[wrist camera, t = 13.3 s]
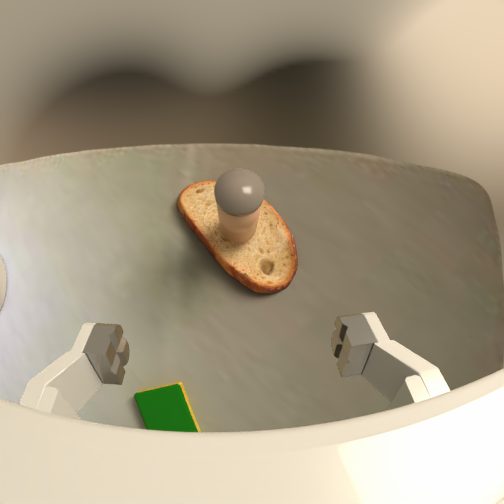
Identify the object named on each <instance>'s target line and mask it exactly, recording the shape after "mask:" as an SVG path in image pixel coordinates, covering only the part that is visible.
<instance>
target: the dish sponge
mask: <svg viewBox="0 0 504 504" xmlns="http://www.w3.org/2000/svg"><path fill="white" fill-rule="evenodd" d="M134 397H135V399H136V402H137V405H138V408H139V410H140V413H141V415H142V418H143V421H144V423H145V426H146V428H147V430H159V431H174V432H201V431H200V429H199V426H198V424H197V421H196V419H195V416H194V413H193V411H192V408H191V405H190V403H189V400H188V397H187V395H186V392H185V389H184V386H183V384H182V383H181V382H176V383H172V384H168V385H164V386H160V387H155V388H151V389H147V390H142V391H139V392H137V393H135V396H134Z"/></svg>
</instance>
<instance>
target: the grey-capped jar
mask: <svg viewBox="0 0 504 504" xmlns="http://www.w3.org/2000/svg"><path fill="white" fill-rule="evenodd" d="M264 193H265V189H264V184H263V182H262V180H261V179H260V178H259V176H258V175H256V174H255V173H253V172H252V171H249V170H246V169H232V170H229V171H227V172H225V173H224V174H222V175H221V176H220V177H219V178H218V180H217V182H216V184H215V187H214V195H215V200H216V203H217V210H218V217H219V225H220V230H221V233H222V235H223V236H224V237H225V238H226V239H227V240H228V241H230V242H233V243H244V242H247V241H248V240H250V239H251V238H252V237H253V236H254V234H255V232H256V229H257V224H258V219H259V214H260V209H261V204H262V202H263V198H264Z"/></svg>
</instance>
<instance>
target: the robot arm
mask: <svg viewBox="0 0 504 504" xmlns="http://www.w3.org/2000/svg"><path fill="white" fill-rule="evenodd" d="M6 285H7V277H6V269H5V265H4V262H3V259H2V258H1V256H0V310H1V308H2V305H3V302H4V299H5V294H6ZM335 327H336V330H334V331H333V332H332V337H331V347H332V351H333V355H334V356H335V357H336V358H338V362H337V367H338V370H339V373H340V375H341V378H342V377H349V376H356V375H362V377H363V378H365V379H366V380H367V381H368V382H369V383H370V384H371V385H372V386H373V387H375V388H376V389H377V390H378V391H379V392H380V393H381V394H382V395H383V396H385V397H386V398H387V399H388V400H389V401H390V402H391V404H390V405H389V407H388V409H387V410H386V411H383V412H379V413H375V414H371V415H366V416H362V417H357V418H352V419H347V420H342V421H336V422H330V423H324V424H318V425H311V426H303V427H295V428H286V429H276V430H264V431H248V432H174V431H159V430H147V429H137V428H128V427H120V426H113V425H106V424H100V423H94V422H89V421H83V420H82V419H81V418H80V417H79V415H78V414H77V412H78V411H79V410H80V409H81V408H82V407H83V406H84V405H85V404H86V402H87V401H88V400H89V399H90V398H91V397H92V396H93V395H94V394H95V393H96V391H97V390H98V389H99V388H100V387H101V386H102V385H103V384H102V383H104V384H117V385H122V382H123V378H124V374H125V370H124V368H123V366H125V365H126V364H127V363H128V360H129V345H128V342H127V340H126V339H125V338H124V337H123V336H122V335H123V330H122V327H121V325H118V324H103V323H85V324H83V326H82V328H81V330H80V332H79V335H78V337H77V339H76V341H75V343H74V345H73V347H72V350H71V352H69V351H68V352H66V353H65V354H64V355H62V356H61V357H60V358H58V359H57V360H56V361H54V362H53V363H52V364H50V365H49V366H48V367H46V368H45V369H44V370H43V371H41V372H40V373H39V374H37V375H36V376H35V377H34V378H32V379H31V380H30V381H29V382H28V384H27V386H26V389H25V391H24V393H23V396H22V398H21V400H20V403H19V404H16V403H13V402H10V401H7V400H4V399H2V398H0V504H504V368H503V369H501V370H499V371H497V372H495V373H493V374H491V375H488V376H486V377H484V378H482V379H479V380H477V381H474V382H472V383H470V384H467V385H465V386H462V387H460V388H457V389H454V390H452V391H450V389H449V387H448V386H447V384H446V382H445V380H444V378H443V376H442V375H441V373H440V371H439V369H438V368H437V367H436V366H434V365H432V364H431V363H429V362H428V361H426V360H424V359H423V358H421V357H420V356H418V355H416V354H415V353H413V352H412V351H410V350H408V349H407V348H405V347H404V346H402V345H400V344H399V343H397V342H396V341H394V340H391V341H390V339H389V337H388V336H387V334H386V332H385V330H384V328H383V326H382V324H381V323H380V321H379V319H378V317H377V315H376V314H375V313H374V312H369V313H362V314H354V315H345V316H337V318H336V319H335Z"/></svg>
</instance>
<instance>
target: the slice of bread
mask: <svg viewBox="0 0 504 504" xmlns="http://www.w3.org/2000/svg"><path fill="white" fill-rule="evenodd" d="M216 182H217V181H210V180H207V181H202V182H198V183H194V184H191V185H189V186H188V187H187V188H185V189H184V190H183V191H182V192H181V194H180V196H179V198H178V201H177V205H178V208H179V210H180V211H181V214H182V215H183V217H184V219H185V221H186V222H187V224H188V225H189V226H190V228H191V229H192V231H193V232H194V233H195V234H196V235H197V236H198V238H199V239H200V240H201V241H202V243H203V244H204V245H205V247H206V248H207V249H208V251H209V252H210V253H211V255H212V256H213V257H214V258H215V259H216V260H217V262H218V263H219V264H220V265H221V266H222V267H223V268H224V269H225V270H226V272H227V273H229V274H230V275H231V276H232V277H234V278H236V279H237V280H239V281H240V282H241V283H242V284H243V285H245V286H246V287H248V288H249V289H251V290H253V291H255V292H258V293H274V292H277V291H280V290H284V289H286V288H287V287H288V286H289V284H290V283H291V281H292V279H293V277H294V275H295V273H296V271H297V267H298V258H297V251H296V244H295V240H294V237H293V235H292V233H291V232H290V230H289V229H288V227H287V225H286V223H285V222H284V220H283V219H282V218H281V217H280V216H279V214H278V213H277V212H276V211H275V210H274V208H273V207H272V206H271V205H270V204H268V203H267V202H266V201H265V200H264V199H263V202H262V204H261V209H260V214H259V219H258V224H257V229H256V232H255V234H254V236H253V237H252V238H251V239H250V240H248V241H247V242H244V243H233V242H230V241H228V240H227V239H226V238H225V237H224V236H223V235H222V233H221V230H220V225H219V217H218V210H217V203H216V200H215V195H214V187H215V184H216Z"/></svg>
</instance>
